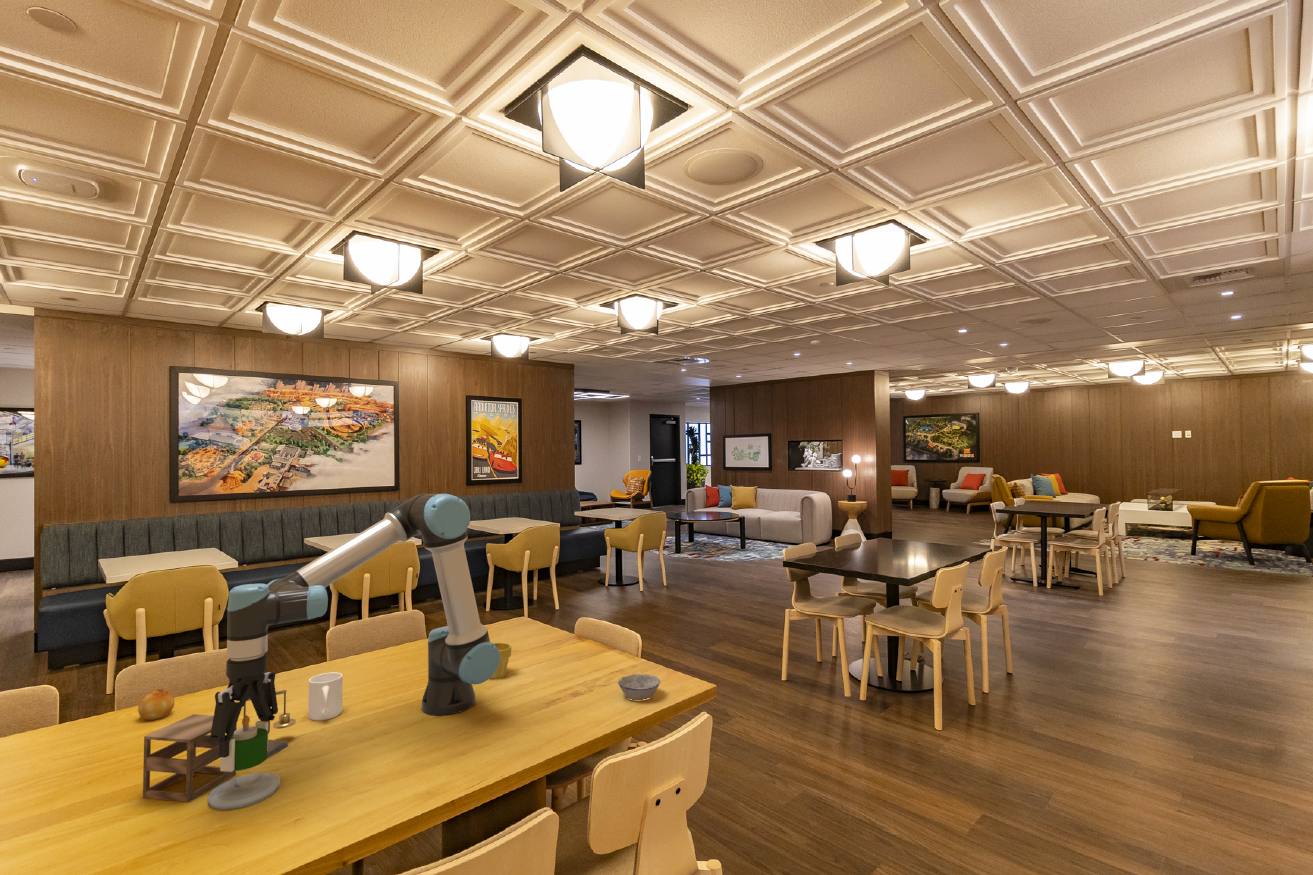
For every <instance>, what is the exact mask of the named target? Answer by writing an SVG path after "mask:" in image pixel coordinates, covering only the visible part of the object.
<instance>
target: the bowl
mask: <svg viewBox="0 0 1313 875" xmlns="http://www.w3.org/2000/svg"><path fill="white" fill-rule="evenodd" d="M617 684H618V686H619V687H620V689H621V691H622V692H623V694H624V695H625V697H626V699H628V698H629V699H632V700H643V699H647V698H650V697H652V696H653V697H654V695H655V693H656V692H657V689H658V688H659V686H660V684H661V679H660V678H658V676H655V675H652V674H646V673H645V674H643V673H642V674H640V673H639V674H632V675H631V674H630V675H626V676H622V677H621V678H620V679H619V680H618V683H617ZM653 697H652V698H653ZM629 699H628V700H629ZM632 700H631V701H632Z"/></svg>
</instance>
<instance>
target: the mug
mask: <svg viewBox="0 0 1313 875" xmlns="http://www.w3.org/2000/svg"><path fill="white" fill-rule="evenodd" d="M343 682H344V681H343V673H341V672H336V671H335V672H334V671H333V672H325V673H320V674H319V673H318V674H316V675H313V676H312V677H310V678H309V679H308V701H307V702H308V709H307V711H308V718H309V719H310V720H311V721H317V722H318V721H325V720H327V721H328V720H330V719H334V718H337V717H338V716H339V715H340V714H341V713H342V711H343Z"/></svg>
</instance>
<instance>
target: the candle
mask: <svg viewBox="0 0 1313 875" xmlns="http://www.w3.org/2000/svg"><path fill="white" fill-rule="evenodd" d="M241 724H242V727H241V728H237V730H236V731H235V732H234V733H233V735H232V738H231V739H235V761H234V771H236V772H238V771H245V770H248V769H252V768H255V767H256V766H259V765H261V764H262V763H264V762H265V761H267V759H268V758H267V746H268V740H269V734H268V731H267V730H266V729H262V728H257V727H255V726H253V725H251V726H249V725H250V716H249V715H248V714H246V716H244V715H243V718H242V720H241Z"/></svg>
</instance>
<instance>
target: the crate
mask: <svg viewBox="0 0 1313 875" xmlns="http://www.w3.org/2000/svg"><path fill="white" fill-rule="evenodd" d="M213 717H214V715H210V714H209V715H208V714H196V713H194V714H192V715H189V716H187V717H184V718H181V719H180V720H178V721H175V722H173V723H171V724H168V725H166V726H164V727H162V728H159V729H158V730H155V731H154V732H151V733H149V734H146V735H144V736H143V737H144V738H143V773H142V775H143V777H142V798H143V799H152V800H153V799H155V800H162V801H163V800H164V801H173V802H184V803H190V802H192V801H194V800H196V799H197V798H199V797H200V796H202V795H204V794H205V793H207V792H209V791H210V790H211V789H212V790H213V789H215V788H216V787H218V786H219V785H221V784H223V783H225V782H226V781H227V780H230V778H232V777H234V776H235V775H237V771H232V772H227V771H220V766H214V765H210V764H212V763H214V762H215V761H217V760H219V759H221V757H219V742H211V741H210V734H211V728H212V723H213ZM237 724H238V723H237ZM237 724H236V727H235V730H234V732H235V731H236V730H238V727H237V726H238V725H237ZM234 732H233V733H234ZM152 741H164V742H172V743H171V744H168V745H167V746H164V747H162V748H160V749H158V750H157V751H154V752H152V753H151V746H152V744H151V743H152ZM197 748H201V749H202V748H203V749H207V750H206V751H204V752H202V753H200V754H198V755H197ZM185 751H186V758H174V757H175V756H178V755H179V754H182V753H184V752H185ZM151 772H156V773H159V772H160V773H170V774H172V775H170V776H168V777H167V778H165V779H163V780H161V781H159V782H157V783H155V784H153V785H152V786H150V785H151ZM194 773H200V774H212V775H219V776H218V777H216V778H214V779H212V780H211V781H209V782H207V783H205V784H203V785H202V786H200V787H199V788H196V789H195V790H194ZM184 777H186V781H185V782H186V784H185V788H186V789H185V792H175V791H165V790H162V789H164V788H166V787H168V786H169V785H172V784H173V783H175V782H176V781H179V780H180V779H182V778H184Z"/></svg>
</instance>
